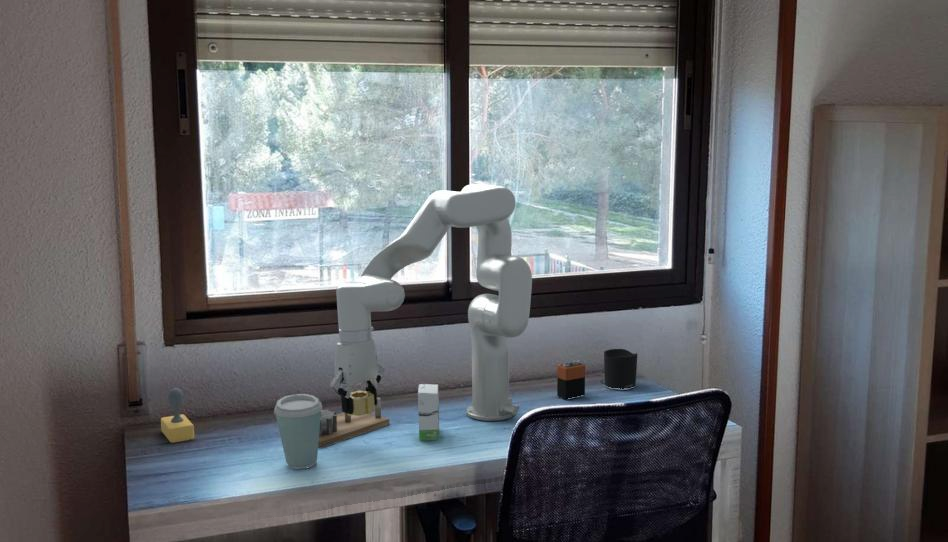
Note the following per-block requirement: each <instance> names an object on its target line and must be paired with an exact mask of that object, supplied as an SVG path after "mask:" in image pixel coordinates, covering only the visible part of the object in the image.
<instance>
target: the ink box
mask: <svg viewBox="0 0 948 542" xmlns="http://www.w3.org/2000/svg"><path fill="white" fill-rule="evenodd" d="M439 403H440V399H439V384H429V383H421V384H418V388H417V405H418V407H417V408H418V412H417V414H418V415H417V416H418V418H417V419H418V438H419V441H421V442H422V441H439V440H440V404H439Z"/></svg>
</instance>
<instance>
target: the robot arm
mask: <svg viewBox="0 0 948 542" xmlns="http://www.w3.org/2000/svg"><path fill="white" fill-rule="evenodd" d="M515 208H516V197H515V195H514V193H513V192H512V190H511V189H509V188H507V186H503V185H498V184H497V185H495V184H486V183H471V184H467V185H465V186H464V187H462V189H461V191H456V190H455V191H454V190H444V189H443V190H441V189H440V190H436V191H434V192H432V193H431V195H429V196H428V197H427V199H426V200H425V202H424V203H423V204H422V206H421V208H419V210H418V211H417V213H416V214H415V215H414V217H413V219H412V220H411V222H409V224H408V225H407V227H406V228H405V230H404V231H403V232H402V233H401V234H400V235H399V237H398V238H396V239H394V240H392V242H391V243H389V244H388V245H386V246H385V247H384V248H383V249H381V250H380V251H379V252H378V253H376V254H375V255H374V256H373V258H371V259H370V261H369V262H368V263H367V265H366V266H365V267H364V269H363V270H362V272H361V273H360V274H359V276H358V278H357V280H356V281H348V282H342V283H340V284H339V285H338V286H337V288H336V292H335V293H336V307H337V320H338V321H337V323H338V337H339V338H338V339H339V342H337V343H336V347H335V352H334V353H335V354H334V356H335V357H334V377H333V379H332V380H331V382H330V384H329V386H330V388H332V390H333V391H334V392H335V393H336V394H338V396H339V397H340V399H341V411H342V413H343V412H344V413H348V414H353V401H352V397H350V395H351V392H353V388H354V386H357V385H360V384H364V383H365V384H366V386H365V391H371V393H372V394H374V404H375V405H377V398H378V396H377V395H378V393H377V392H378V391H377V389H378V388H379V383H380V381H381V380H382V376H383V375H384V372H385V367H383V366H382V365H380V364H379V360H378V354H377V348H376V344H375V340H374V338H373V336H372V335H373V334H372V332H374V330H375V329H374V326H372V317H371V316H372V315H371V313H373V312H390V311H395V310H396V309H398V308H399V307H401V306H402V304H403V303H404V300H405V296H406V294H405V293H406V292H405V289H404V287H403V286H402V285H401V284H400V283H399V282H397V281H396V280H394V279H392V278H394V276H395V275H397V274H398V272H400V271H401V270H402V269H403V270H404V268H405V267H408V266H410V265H412V264H415V263H418V262H421V261H423V260H426V259H428V258H429V257H430V256H432V254H433V253H434V251H435V250H436V248H437V247H438V245H439V244H440V243H441V241H442V239H443V238H444V237H445V235H446V234H447V233H448V231H449V230H450V229H451V227H453V228H458V229H459V228H460V229H461V228H462V229H463V228H464V229H465V228H472V227H473V228H474V227H476V230H477V235H478V239H477V241H478V242H477V257H476V258H477V259H476V269H475V272H476V273H475V274H476V280H477V282H478V284H479V285H480V286H482V287H483V288H486V289H489V290H492V291H496V292H498V295H497V294H492V293H483V294H478V295H477V296H475V297H474V298H473V299H472V300H471V301H470V303H469V305H468V309H467V319H468V320H467V321H468V325H469V329H470V338H471V381H472V382H471V385H472V387H471V388H472V389H471V395H472V396H471V397H472V398H471V401H472V402H471V403H472V404H471V405H470V406H468V407H467V408H466V410H465V411H466V416H468V417H469V418H471V419H475V420H477V421H483V422H484V421H486V422H495V421H496V422H497V421H505V420H508V419H510V418H512V417H515V416H516V415H517V414H518V411H519V410H520V406H519V405H517V404H513V398H512V397H510V371H509V370H510V358H509V357H510V347H509V341H508V338H509V339H511V338H517V337H519V336H521V335H522V334H523V333H524V332H525V330H526V328H527V327H528V323H529V319H530V315H531V314H530V311H531V300H532V299H531V298H532V288H533V276H532V275H533V274H532V270H531V267H530V265H529V263H528V262H527V261H526V260H525V259H523V258H522V257H520V256H516V255H513V254H512V243H513V242H512V241H513V240H512V228H511V223H510V221H509V219H508V218H510V217H511V216H512V215H513V213H514V211H515Z"/></svg>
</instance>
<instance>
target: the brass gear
mask: <svg viewBox="0 0 948 542" xmlns="http://www.w3.org/2000/svg"><path fill="white" fill-rule="evenodd" d="M350 397H352V401H353V414H348V413H347V414H348V415H357V416H361V415H366V414H372V413H373V412H375V404H374V394H372V393H371V391H366V390H362V389H361V390H356V391H351V395H350Z"/></svg>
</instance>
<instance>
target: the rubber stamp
mask: <svg viewBox="0 0 948 542" xmlns="http://www.w3.org/2000/svg"><path fill="white" fill-rule="evenodd" d="M167 399H168V402H169V405H170V407H171V408H172V411H173V414H174V415H171V416H170V415H169V416H164V417H161V418H160V428H161V429H160V430H161V432H162V433H163V435H164V436H165V438H166V439H167V440H168V441H169V443H172V444H175V443H178V442H179V443H180V442H186V441H191V440H194V439H195V426H194V424H193V423H192V422H191V421H190V419H189V418H188V417H187V416H186V415H185V414H182V413H181V414H180V410H181V407H182V404H183V400H184V393H183V391H182V390H181V389H180V388H178V387H174V388H171V389H170V390H169V392H168V398H167ZM190 439H191V440H190Z"/></svg>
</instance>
